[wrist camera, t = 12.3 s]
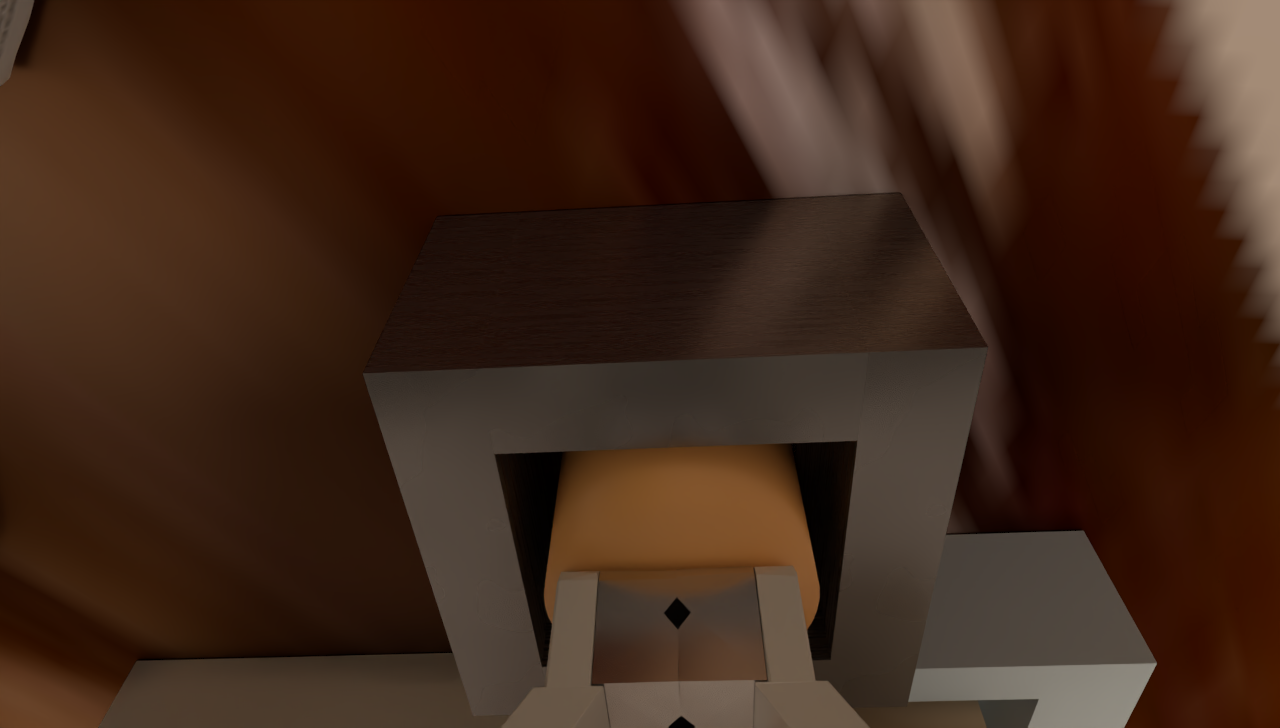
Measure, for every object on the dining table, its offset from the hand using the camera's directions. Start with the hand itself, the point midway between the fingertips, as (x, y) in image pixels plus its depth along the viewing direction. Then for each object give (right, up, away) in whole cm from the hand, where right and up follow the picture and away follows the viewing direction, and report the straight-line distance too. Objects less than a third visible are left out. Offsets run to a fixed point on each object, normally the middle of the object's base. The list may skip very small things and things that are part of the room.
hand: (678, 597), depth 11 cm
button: (0, +2, +3) cm, 4 cm away
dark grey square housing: (0, +3, +4) cm, 5 cm away
